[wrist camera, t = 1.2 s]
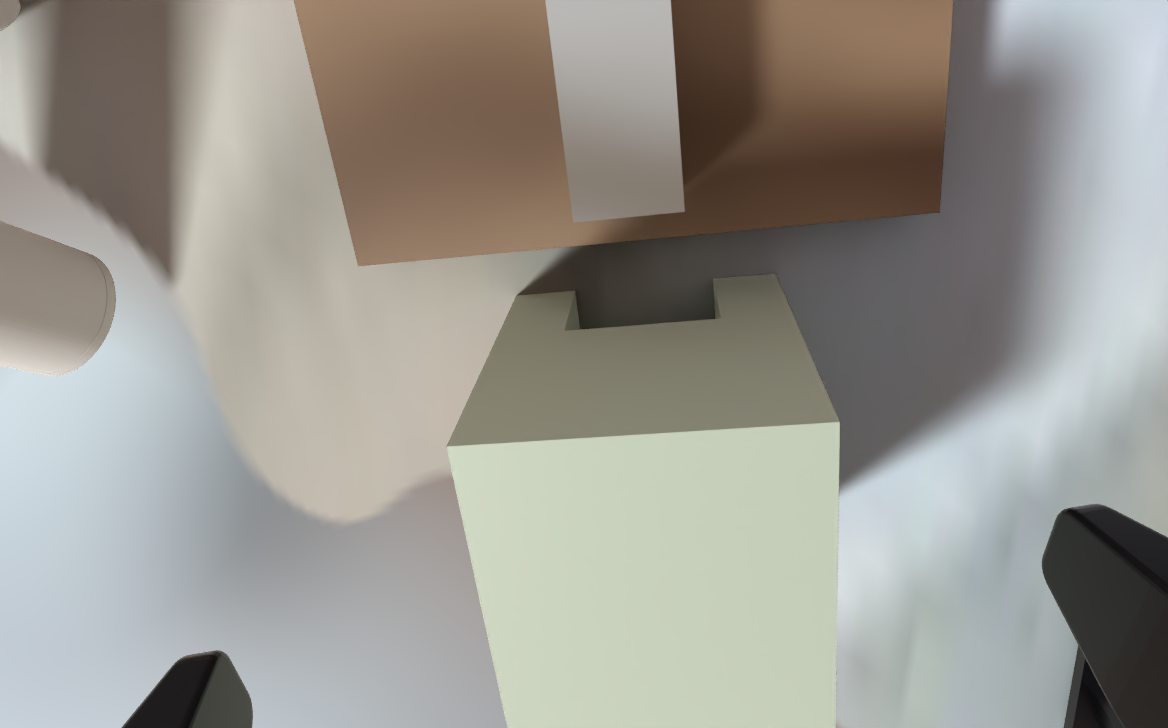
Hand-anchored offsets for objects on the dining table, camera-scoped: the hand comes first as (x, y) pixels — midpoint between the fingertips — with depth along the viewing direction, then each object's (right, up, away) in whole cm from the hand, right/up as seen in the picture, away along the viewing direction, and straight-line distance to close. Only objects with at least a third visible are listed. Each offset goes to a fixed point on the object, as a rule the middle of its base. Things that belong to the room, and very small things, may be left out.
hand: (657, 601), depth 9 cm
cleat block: (+1, +1, +11) cm, 11 cm away
